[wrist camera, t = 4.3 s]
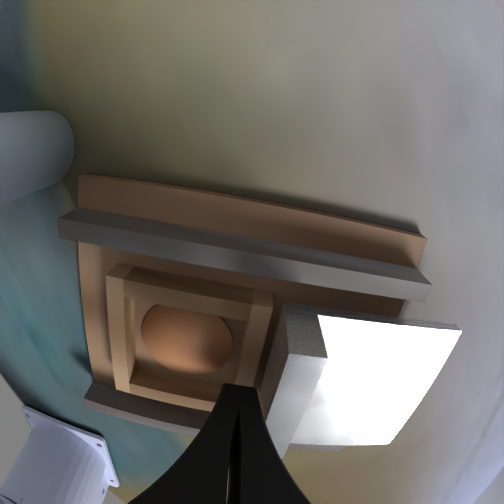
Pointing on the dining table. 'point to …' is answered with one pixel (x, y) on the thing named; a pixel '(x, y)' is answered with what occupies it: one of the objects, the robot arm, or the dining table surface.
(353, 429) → the cover
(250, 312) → the wooden square tray
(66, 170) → the light blue rounded cylinder
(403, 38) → the dining table surface
